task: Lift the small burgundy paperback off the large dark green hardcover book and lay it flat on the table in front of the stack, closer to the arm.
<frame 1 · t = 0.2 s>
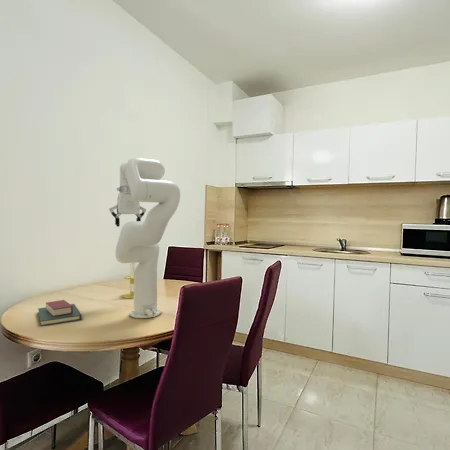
hand: (128, 226, 155), 37 cm above the table, tool pointing down, fingers open, 9 cm apart
green book: (59, 316, 133), on the table, touching burgundy book
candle: (132, 296, 168), on the table
burgundy book: (59, 311, 132), point 2 cm above the table, touching green book
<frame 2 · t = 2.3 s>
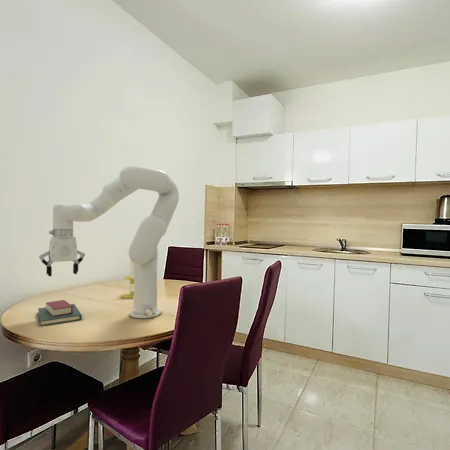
hand: (62, 274, 134), 17 cm above the table, tool pointing down, fingers open, 9 cm apart
nothing on the table moved.
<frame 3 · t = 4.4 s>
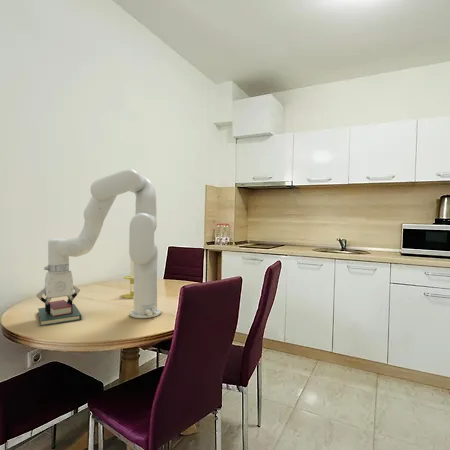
hand: (59, 311, 133), 2 cm above the table, tool pointing down, fingers closed on green book, 7 cm apart
green book: (59, 316, 133), on the table, touching burgundy book, gripper
everything else where it was.
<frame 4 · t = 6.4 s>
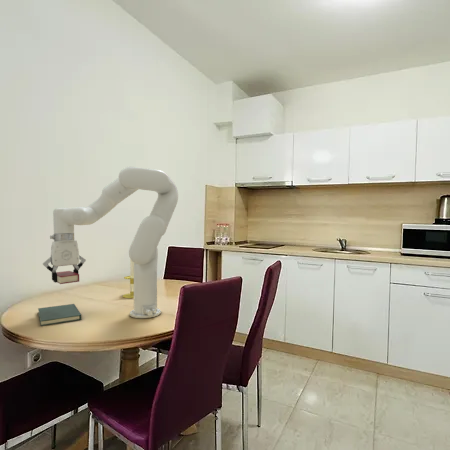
hand: (65, 280, 133), 15 cm above the table, tool pointing down, fingers closed on burgundy book, 7 cm apart
green book: (59, 316, 133), on the table
burgundy book: (65, 280, 133), point 14 cm above the table, touching gripper
everything else where it was.
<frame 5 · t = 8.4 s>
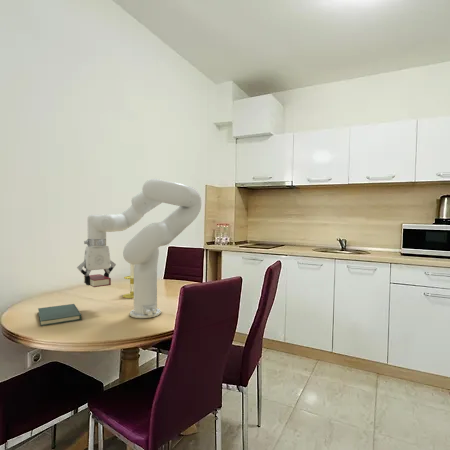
hand: (97, 283, 140), 12 cm above the table, tool pointing down, fingers closed on burgundy book, 7 cm apart
burgundy book: (97, 283, 140), point 12 cm above the table, touching gripper
everything else where it was.
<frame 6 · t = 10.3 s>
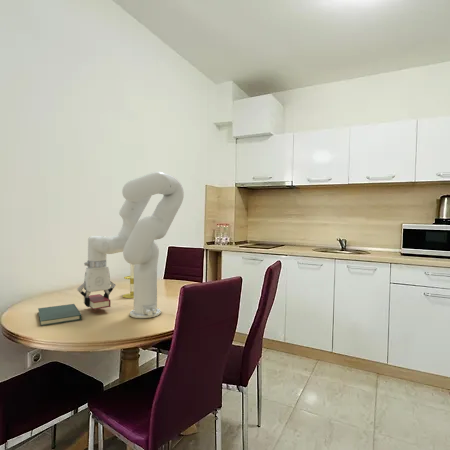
hand: (96, 304, 141), 3 cm above the table, tool pointing down, fingers closed on burgundy book, 7 cm apart
burgundy book: (96, 304, 141), point 3 cm above the table, touching gripper
everything else where it was.
when the fingers open (0 cm above the table, at t = 11.6 s): burgundy book stays where it is, on the table.
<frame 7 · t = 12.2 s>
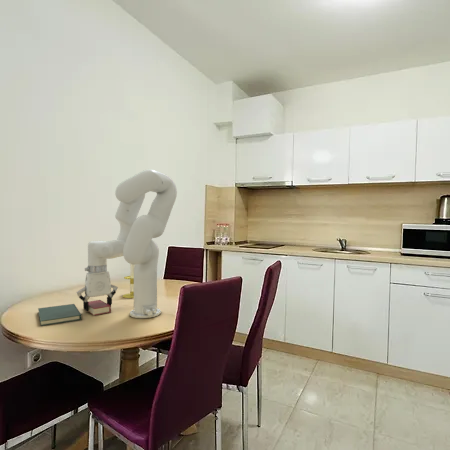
hand: (98, 308, 141), 1 cm above the table, tool pointing down, fingers open, 9 cm apart
burgundy book: (97, 310, 141), on the table
everything else where it was.
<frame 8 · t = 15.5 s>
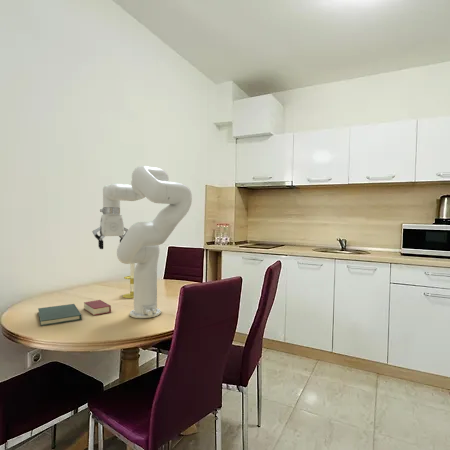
hand: (111, 248, 151), 26 cm above the table, tool pointing down, fingers open, 9 cm apart
nothing on the table moved.
at the end: burgundy book touching table; burgundy book inside the target area (0.1 cm from its centre), on the table; burgundy book tilted 0° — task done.
